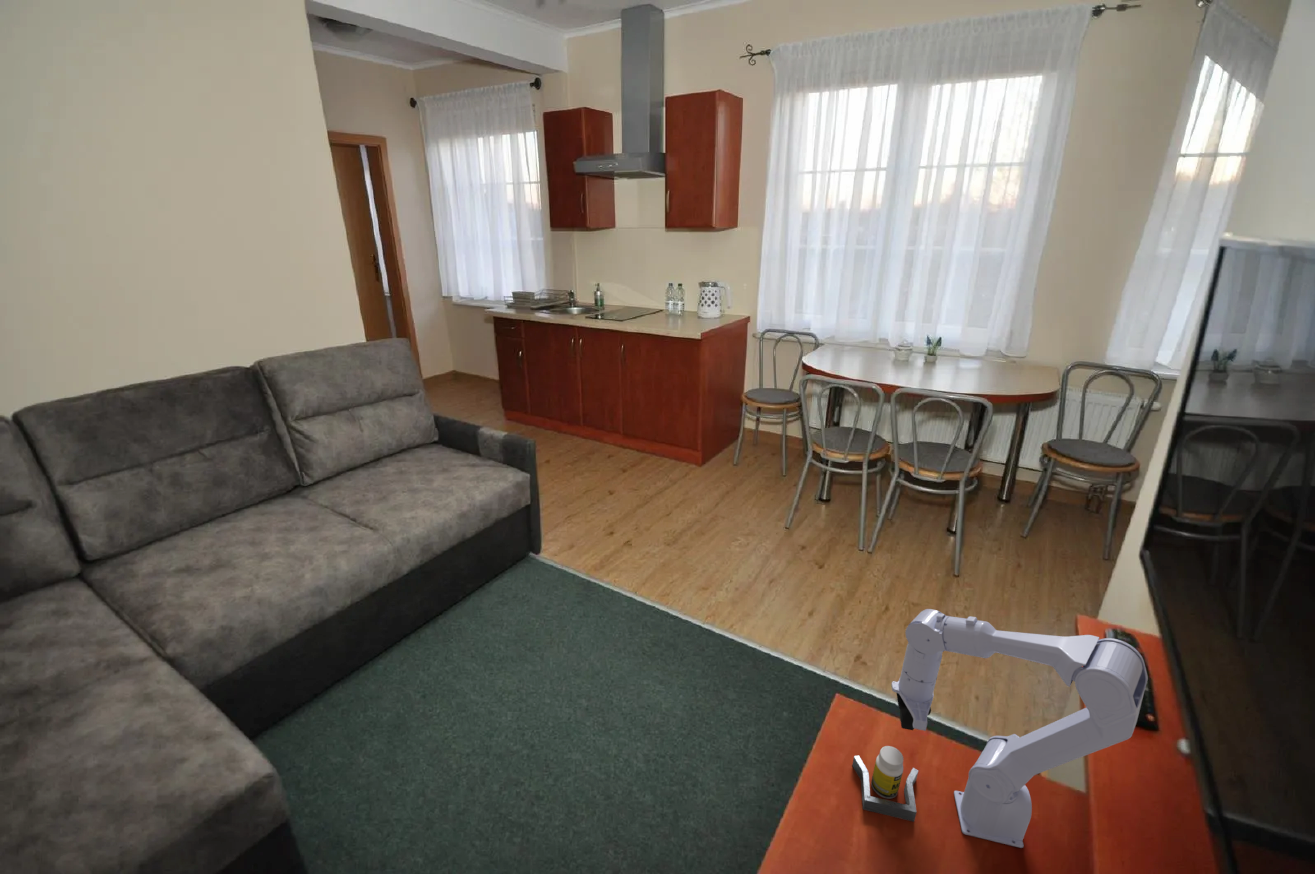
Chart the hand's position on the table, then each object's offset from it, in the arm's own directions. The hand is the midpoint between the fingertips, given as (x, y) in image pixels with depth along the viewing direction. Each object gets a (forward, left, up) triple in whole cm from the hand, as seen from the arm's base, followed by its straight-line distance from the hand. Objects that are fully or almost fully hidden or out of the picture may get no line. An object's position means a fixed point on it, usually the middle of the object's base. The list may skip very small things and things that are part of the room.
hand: (906, 726), depth 109 cm
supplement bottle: (+3, +6, -10) cm, 12 cm away
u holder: (+3, +8, -9) cm, 13 cm away
